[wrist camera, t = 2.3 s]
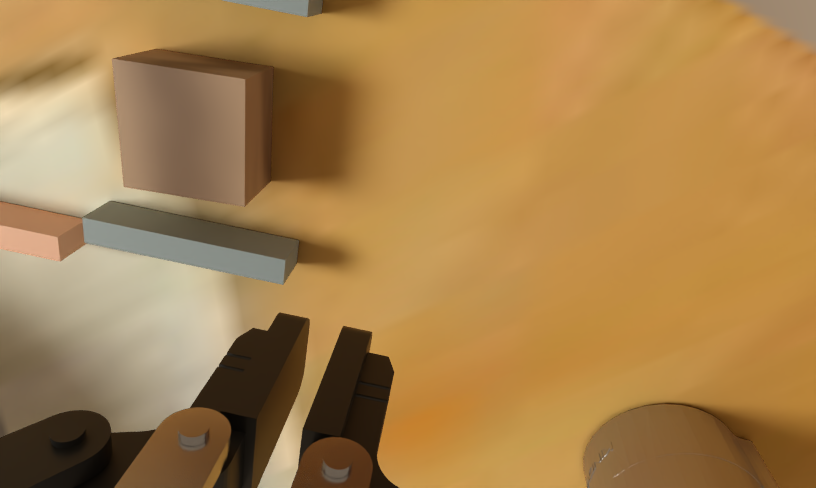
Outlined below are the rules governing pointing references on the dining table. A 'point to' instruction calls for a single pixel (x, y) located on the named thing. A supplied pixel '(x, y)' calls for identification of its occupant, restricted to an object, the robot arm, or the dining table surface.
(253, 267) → the channel
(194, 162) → the walnut block
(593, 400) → the dining table surface
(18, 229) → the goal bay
